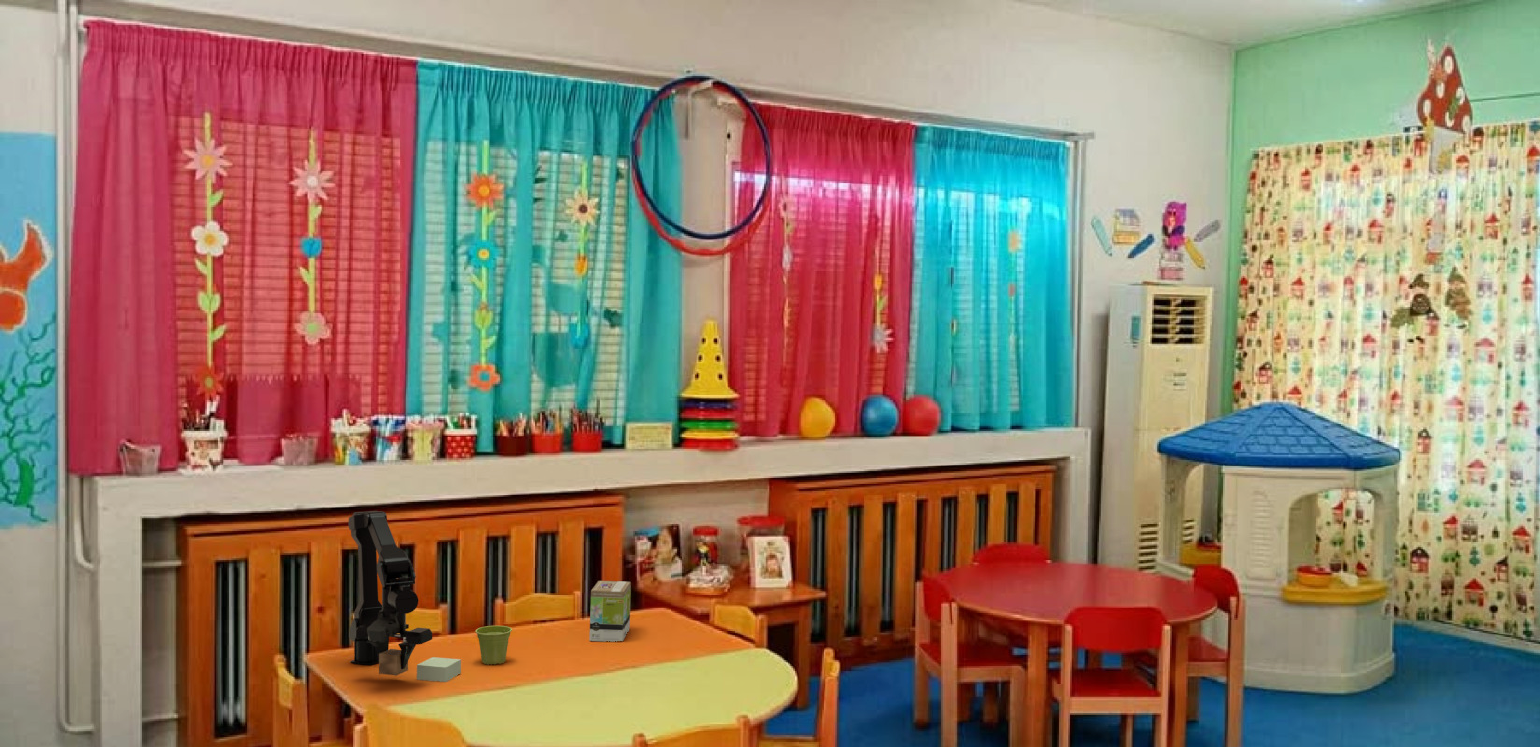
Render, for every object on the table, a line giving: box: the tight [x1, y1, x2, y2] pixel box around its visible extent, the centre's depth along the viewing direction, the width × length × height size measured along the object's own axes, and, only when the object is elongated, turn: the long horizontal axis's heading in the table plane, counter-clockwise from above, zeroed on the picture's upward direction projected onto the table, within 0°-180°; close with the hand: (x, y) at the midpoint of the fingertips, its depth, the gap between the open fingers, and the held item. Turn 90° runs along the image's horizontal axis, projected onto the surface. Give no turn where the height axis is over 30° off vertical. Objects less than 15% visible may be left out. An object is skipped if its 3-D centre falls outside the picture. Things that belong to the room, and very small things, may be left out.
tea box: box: [588, 580, 632, 643], centre depth 369 cm, size 15×10×15 cm
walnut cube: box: [378, 648, 409, 676], centre depth 319 cm, size 5×5×5 cm
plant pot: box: [475, 625, 513, 666], centre depth 339 cm, size 9×9×9 cm
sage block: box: [416, 656, 462, 683], centre depth 324 cm, size 8×8×4 cm
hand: (393, 667), depth 319 cm, fingers closed on walnut cube, 5 cm apart
